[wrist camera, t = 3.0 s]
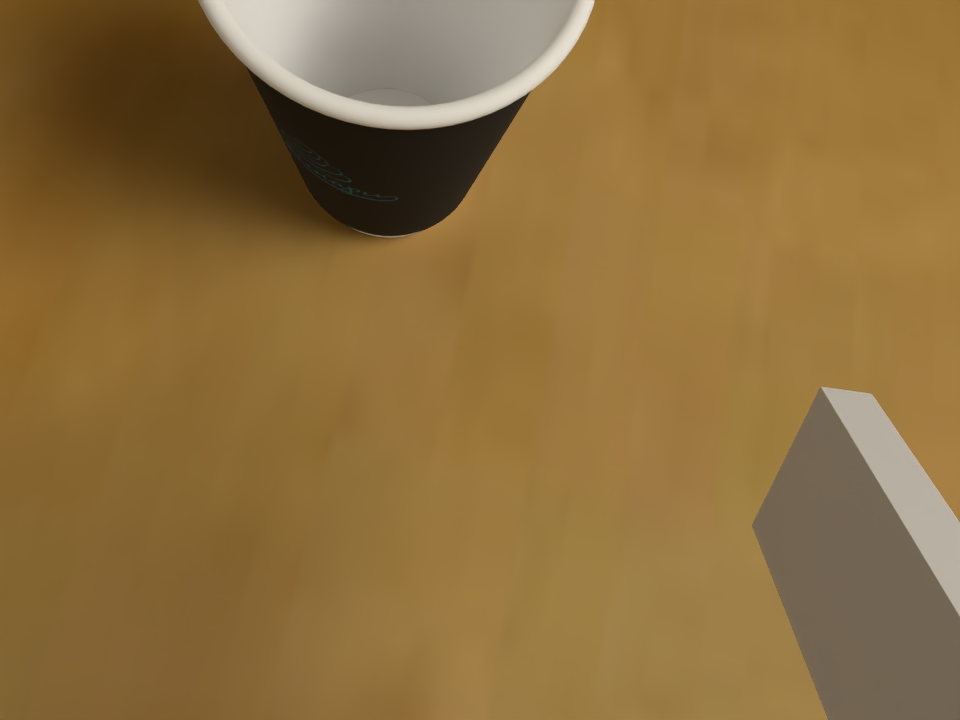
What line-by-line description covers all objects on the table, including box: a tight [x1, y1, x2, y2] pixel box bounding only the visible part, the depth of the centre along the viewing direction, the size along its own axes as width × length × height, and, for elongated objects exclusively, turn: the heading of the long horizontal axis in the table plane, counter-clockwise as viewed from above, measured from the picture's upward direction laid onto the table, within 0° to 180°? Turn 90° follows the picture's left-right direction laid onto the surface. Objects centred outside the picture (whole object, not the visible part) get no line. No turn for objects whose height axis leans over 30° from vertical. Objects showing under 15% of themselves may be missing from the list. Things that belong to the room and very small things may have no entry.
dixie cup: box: [198, 0, 595, 238], centre depth 21 cm, size 8×8×11 cm
